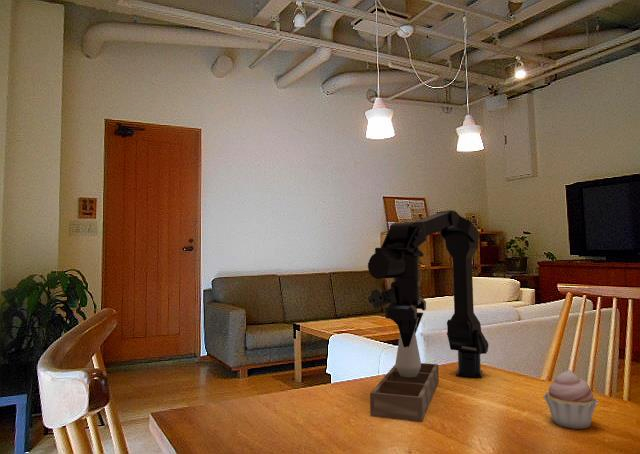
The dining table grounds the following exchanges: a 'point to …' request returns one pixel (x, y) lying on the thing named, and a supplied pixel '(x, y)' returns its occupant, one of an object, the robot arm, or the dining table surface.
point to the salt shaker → (408, 358)
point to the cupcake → (570, 401)
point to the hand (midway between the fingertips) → (407, 345)
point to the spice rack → (404, 394)
